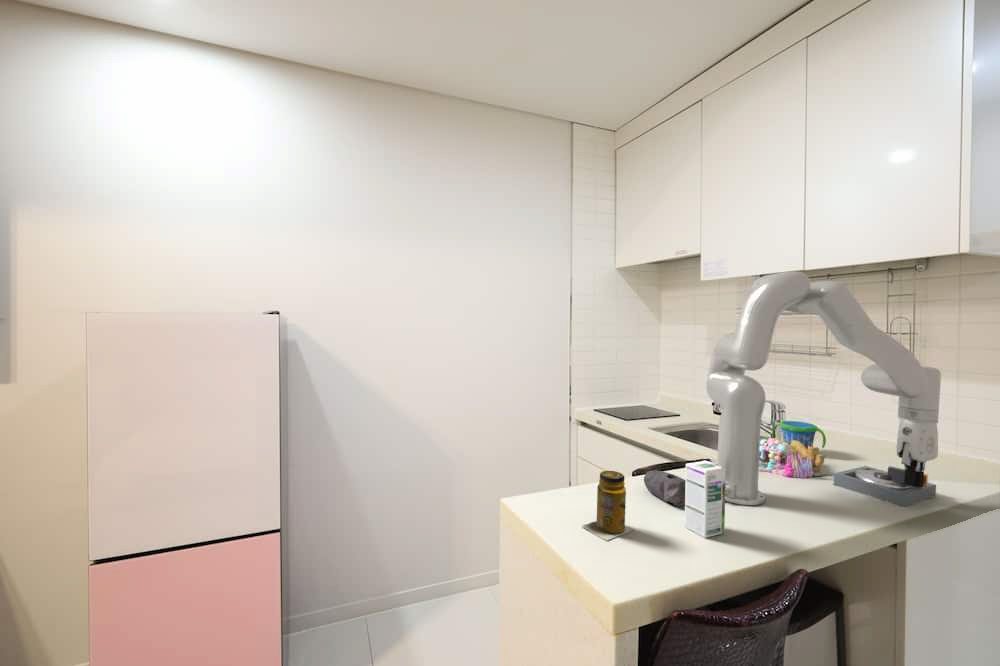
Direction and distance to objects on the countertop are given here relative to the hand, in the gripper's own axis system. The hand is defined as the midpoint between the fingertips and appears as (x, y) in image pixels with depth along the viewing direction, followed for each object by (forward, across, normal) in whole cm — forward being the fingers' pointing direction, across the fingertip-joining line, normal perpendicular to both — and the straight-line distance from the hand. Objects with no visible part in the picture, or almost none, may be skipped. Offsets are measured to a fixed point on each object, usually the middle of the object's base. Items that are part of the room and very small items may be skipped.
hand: (913, 485), depth 115 cm
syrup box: (+5, -63, +10) cm, 64 cm away
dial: (+2, +2, +6) cm, 7 cm away
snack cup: (+4, +15, +38) cm, 41 cm away
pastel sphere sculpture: (+5, -5, +33) cm, 33 cm away
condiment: (+5, -82, +20) cm, 85 cm away
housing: (+4, +2, +7) cm, 8 cm away
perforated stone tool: (+5, -58, +26) cm, 64 cm away
